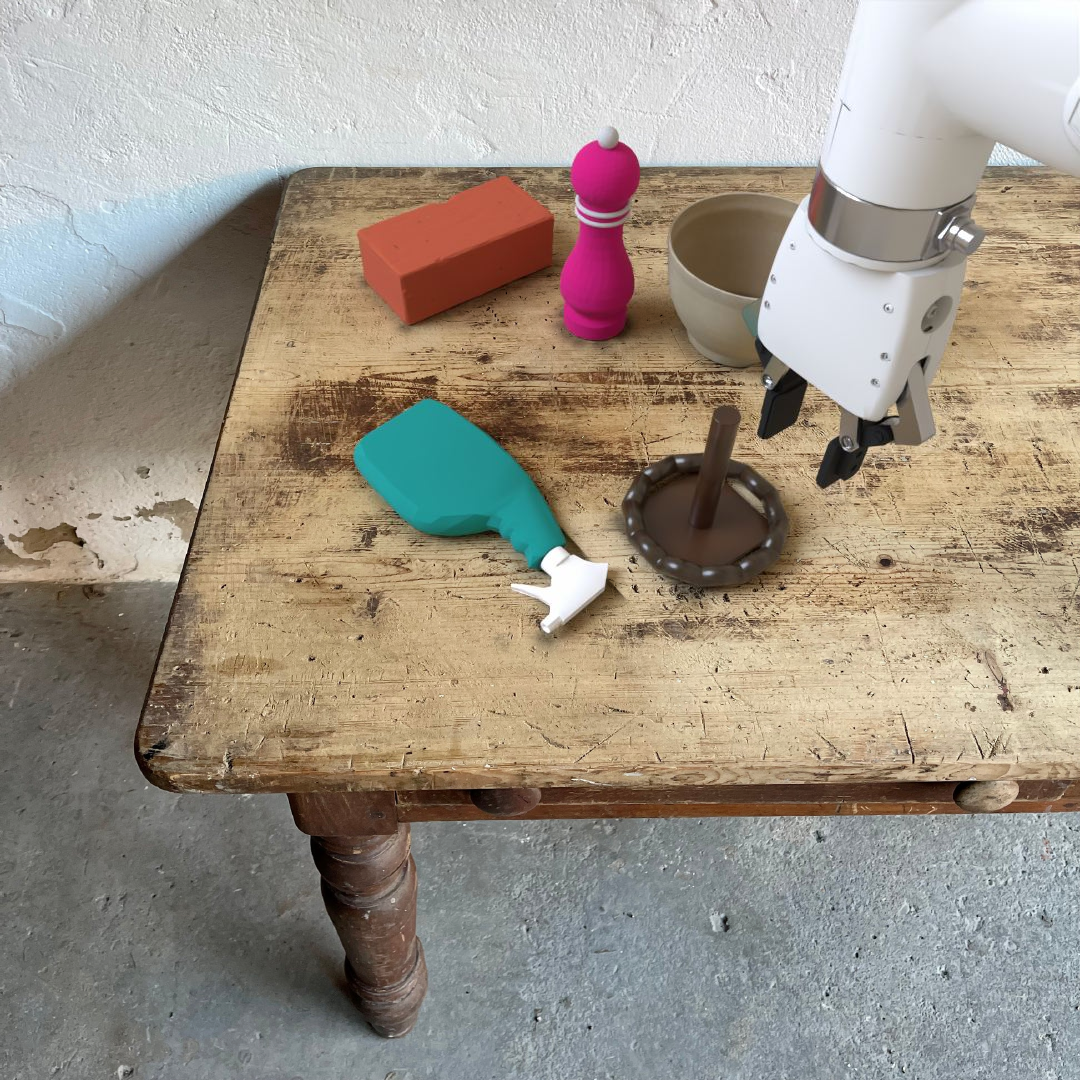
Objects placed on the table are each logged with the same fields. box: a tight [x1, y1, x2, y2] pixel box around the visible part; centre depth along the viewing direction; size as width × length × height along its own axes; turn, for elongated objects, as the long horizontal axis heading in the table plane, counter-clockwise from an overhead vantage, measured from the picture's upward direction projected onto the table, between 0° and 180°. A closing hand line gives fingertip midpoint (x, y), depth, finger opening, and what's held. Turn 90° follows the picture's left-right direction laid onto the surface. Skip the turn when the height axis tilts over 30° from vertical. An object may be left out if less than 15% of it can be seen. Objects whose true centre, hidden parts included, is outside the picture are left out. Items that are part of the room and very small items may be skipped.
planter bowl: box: [667, 191, 801, 368], centre depth 84 cm, size 16×16×11 cm
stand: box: [641, 405, 769, 587], centre depth 68 cm, size 9×9×13 cm
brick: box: [356, 175, 555, 326], centre depth 92 cm, size 18×9×6 cm, turn 125°
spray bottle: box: [353, 398, 609, 634], centre depth 73 cm, size 3×11×24 cm
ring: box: [620, 452, 791, 588], centre depth 72 cm, size 13×13×2 cm
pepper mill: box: [559, 125, 641, 341], centre depth 82 cm, size 7×7×20 cm
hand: (805, 450), depth 59 cm, fingers open, 4 cm apart
